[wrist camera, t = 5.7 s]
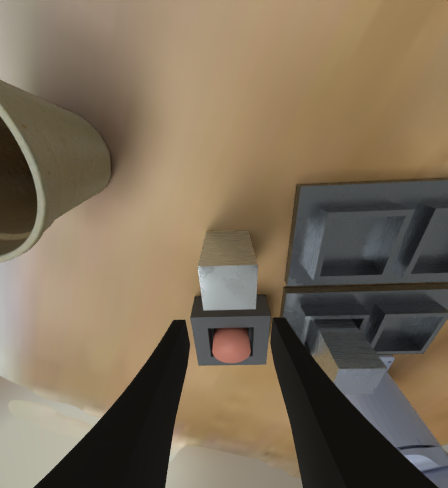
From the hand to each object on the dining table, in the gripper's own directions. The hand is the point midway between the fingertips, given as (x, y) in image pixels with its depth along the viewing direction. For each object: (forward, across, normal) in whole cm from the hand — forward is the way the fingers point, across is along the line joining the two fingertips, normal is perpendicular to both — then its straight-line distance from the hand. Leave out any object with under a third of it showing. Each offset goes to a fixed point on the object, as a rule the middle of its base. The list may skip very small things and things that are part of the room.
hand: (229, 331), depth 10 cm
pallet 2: (+9, -15, +10) cm, 20 cm away
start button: (+8, 0, +10) cm, 13 cm away
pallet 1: (+9, -15, -1) cm, 18 cm away
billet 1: (+10, 0, 0) cm, 10 cm away
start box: (+9, 0, +10) cm, 14 cm away
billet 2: (+8, -11, +10) cm, 17 cm away
